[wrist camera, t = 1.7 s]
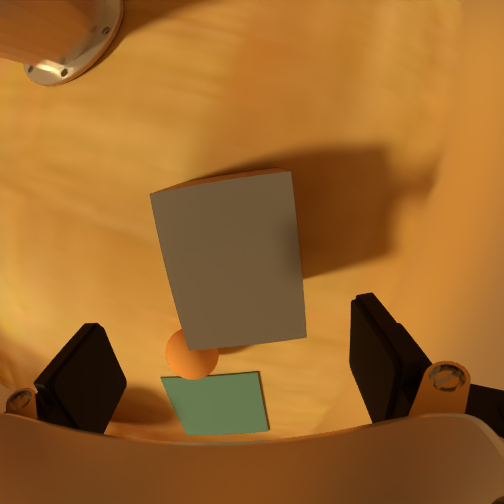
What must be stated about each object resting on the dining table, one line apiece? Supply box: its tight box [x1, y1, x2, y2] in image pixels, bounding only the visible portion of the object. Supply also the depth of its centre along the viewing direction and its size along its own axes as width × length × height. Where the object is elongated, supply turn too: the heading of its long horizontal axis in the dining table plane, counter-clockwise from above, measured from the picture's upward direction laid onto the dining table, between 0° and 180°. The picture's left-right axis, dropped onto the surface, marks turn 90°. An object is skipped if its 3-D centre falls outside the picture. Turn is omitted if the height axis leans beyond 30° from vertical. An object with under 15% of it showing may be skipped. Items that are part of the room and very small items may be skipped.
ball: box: [165, 329, 219, 380], centre depth 26 cm, size 5×5×5 cm
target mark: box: [161, 371, 268, 435], centre depth 31 cm, size 11×11×1 cm
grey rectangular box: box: [150, 168, 307, 350], centre depth 21 cm, size 10×8×9 cm
